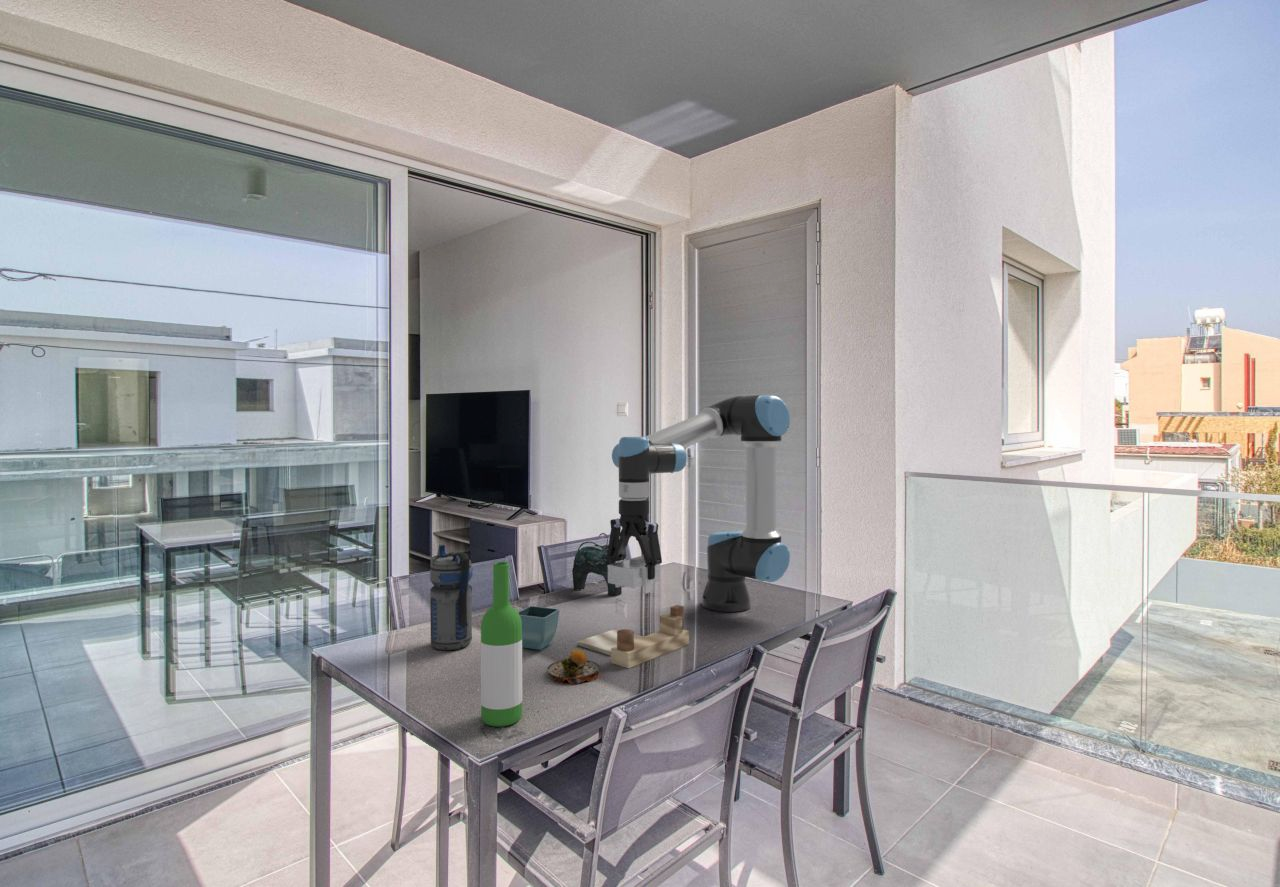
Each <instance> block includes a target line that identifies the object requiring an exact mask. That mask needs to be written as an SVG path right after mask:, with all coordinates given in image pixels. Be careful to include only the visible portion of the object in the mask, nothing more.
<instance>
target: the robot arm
mask: <svg viewBox="0 0 1280 887" xmlns="http://www.w3.org/2000/svg"><path fill="white" fill-rule="evenodd" d="M790 424H791V416H790V411H789V408H788V406H787V404H786V403H785V402H784V400H782V398H780V397H778V396H776V395H771V394H770V395H769V394H767V395H766V394H760V395H745V396H744V395H741V396H740V395H739V396H738V395H737V396H733V397H729V398H726V399H723V400H721V401H718V402H716V403H713V404H712V405H709V406H707V407H704V408H702V409H701V410H700V412H699V413H698V414H696V415H694V416H692V417H690V418H686V419H684V420H682V421H680V422H679V421H678V422H677V423H674V424H671V425H670V426H667V427H665V428H662V429H660V430H658V431H655V432H652V433H651V434H648V435H645V436H621V438H620V439H619V441H618V443H617V444H615V446H614V447H613V449H612V452H611V459H612V460H611V461H612V463H613V465H614V466H615V467H616V468H618V497H619V498H620V499H619V500H618V514H619V515H620V516H619V518H613V519H610V520H609V521H610V532H609V533H610V534H609V539H608V545H609V546H608V552H607V556H608V557H611V558H612V559H613V561H614V563H618V562H622V561H626V559H624V558H623V554H624V552H625V549H626V550H627V547H628V543H629V540H630V538H632V537H633V538H635V540H636V541H637V542H638V545H639V548H640V550H641V554H642V556H643V557H644V560H645V563H646V565H645V566H644V586H643V594H648V593H652V592H654V583H653V579H654V578H655V566H656V565H657V564H660V565H661V564H662V563H663V559H662V553H661V546H660V545H661V544H660V540H659V534H658V533H659V532H658V531H659V524H658V523H656V522H655V523H652V522H650V521H649V519H648V515H649V513H650V501H649V499H647V498H649V497H650V475H652V474H667V473H671V474H673V473H678V472H681V471H683V470H684V468H686V464H687V459H688V457H687V452H686V448H688V447H691V446H693V445H695V444H697V443H700V442H703V441H704V440H707V439H709V438H710V439H717V438H719V437H722V436H730V435H731V436H732V435H735V436H737V435H738V436H740V442H741V443H742V445H743V446H745V452H746V453H745V455H746V456H745V460H746V462H745V463H746V464H745V465H746V466H745V467H746V468H745V470H746V471H745V472H746V473H745V474H746V476H745V477H746V479H745V481H746V482H745V483H746V484H745V485H746V488H745V489H746V495H745V498H746V500H745V503H746V505H745V506H746V507H745V508H746V509H745V511H746V513H745V514H746V518H745V519H746V520H745V521H746V522H745V523H746V525H745V527H746V528H745V529H744V530H727V531H726V530H725V531H718V532H712V533H711V534H709V536H708V537H707V539H708V540H707V546H706V547H707V548H706V550H707V552H706V553H707V581H706V585H705V587H704V590H703V593H702V596H701V606H702V607H703V608H705V609H706V610H711V611H715V612H722V613H723V612H724V613H725V612H726V613H735V612H743V611H747V610H749V609H751V607H752V599H751V595H750V593H749V588H748V586H747V583H746V578H748V579H753V580H756V581H759V582H767V583H775V582H777V581H779V580H780V579H782V578H783V576H784V574H785V573H786V572H787V570H788V568H789V565H790V561H791V560H790V559H791V553H790V550H789V548H788V546H787V545H786V544H785V543H783V542H782V534H781V532H780V531H778V529H777V447H778V446H779V445H780V444H781V442H782V436H783V435H785V434H786V433H787V432H788V428H789V427H790ZM612 551H613V552H612ZM621 559H624V560H621ZM615 587H617V588H618V587H621V586H620V585H616V584H615Z"/></svg>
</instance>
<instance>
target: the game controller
mask: <svg viewBox="0 0 1280 887" xmlns="http://www.w3.org/2000/svg"><path fill="white" fill-rule="evenodd" d="M603 535H604V536H605V537H606V544H605V545H600V544H597V543H596V542H594V541H585V542H582V543H581V544H580V545H579V546H578V548H577V552H576V553H575V556H574V559H573V565H572V570H571V571H572V572H571V574H572V575H571V576H572V583H573V590H576V589H580V590H579V591H582V590H581V589H583V590H585V589H584V588H586V582H587V579H588V575H589V574H590V573H591V574H595V575H599V576H602V577H603V579H604V580H605V583H606V585H607V586H606V587H607V595H608V596H614V597H617V596H621V595H623V594H622V591H623V590H622V587H623V586H621V587H618V588H617V587H615V584H611V583H608V565H609V564H613V563H614V561H613V559H612V558H611V557H608V556H607V552H608V546H609V539H608V538H609V537H608V535H607V534H606V533H604V532H601V533H600V534H599V535H598V538H600V536H603ZM585 544H593V545H586V546H583V545H585ZM582 546H583V547H582ZM612 552H613V551H612ZM626 557H627V548H626V549H625V552H624V554H623V558H624V559H621V560H626Z"/></svg>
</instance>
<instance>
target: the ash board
mask: <svg viewBox="0 0 1280 887" xmlns="http://www.w3.org/2000/svg"><path fill="white" fill-rule="evenodd" d="M618 630H619V629H618V628H614V629H611V630H608V631H605V632H602V633H599V634H596V635H593V636H590V637H587V638H584V639H581V640H578V641H577V646H579V647H582V648H583V647H584V648H586V649H589V650H592V651H595V652H597V653H601V654H605V655H607V656H610V657H611V648H613V647H616V646H617V631H618ZM641 637H644V635H643V636H642V635H638V634H635V633H634V640H636V639H638V638H641Z"/></svg>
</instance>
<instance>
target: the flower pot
mask: <svg viewBox="0 0 1280 887" xmlns="http://www.w3.org/2000/svg"><path fill="white" fill-rule="evenodd" d="M517 612H518V613H519V615H520V617H521V621H522V648H523V649H531V650H537V651H541V650H543V649H545V648H546V647H547V646H549V645H550V644H551V643H552V641H553V638H554V637H555V635H556V632H557V628H558V623H559V617H560V616H559V615H560V609H559V608H552V607H545V606H543V607H542V606H537V605H536V606H535V605H534V606H533V605H529V606H527V607H525V608H523V609H522V610H519V611H517Z"/></svg>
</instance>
